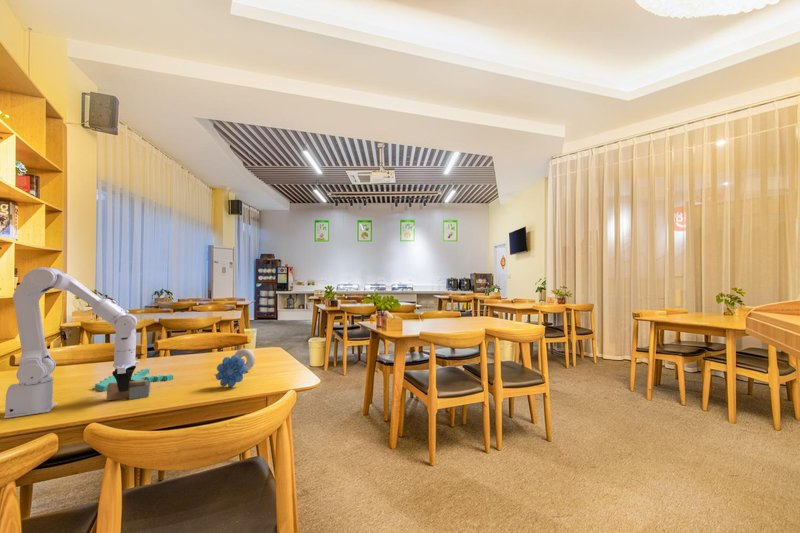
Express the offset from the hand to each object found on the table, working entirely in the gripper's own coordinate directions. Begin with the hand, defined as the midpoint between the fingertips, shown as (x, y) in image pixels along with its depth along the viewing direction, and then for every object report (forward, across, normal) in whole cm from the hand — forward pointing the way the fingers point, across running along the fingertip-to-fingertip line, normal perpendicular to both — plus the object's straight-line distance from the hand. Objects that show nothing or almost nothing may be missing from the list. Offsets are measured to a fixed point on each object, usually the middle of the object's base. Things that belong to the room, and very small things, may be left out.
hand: (123, 390), depth 115 cm
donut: (+3, +14, -39) cm, 42 cm away
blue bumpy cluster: (+3, -5, -33) cm, 33 cm away
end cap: (+3, 0, -4) cm, 5 cm away
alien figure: (+3, +20, 0) cm, 20 cm away
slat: (+2, 0, -1) cm, 3 cm away
